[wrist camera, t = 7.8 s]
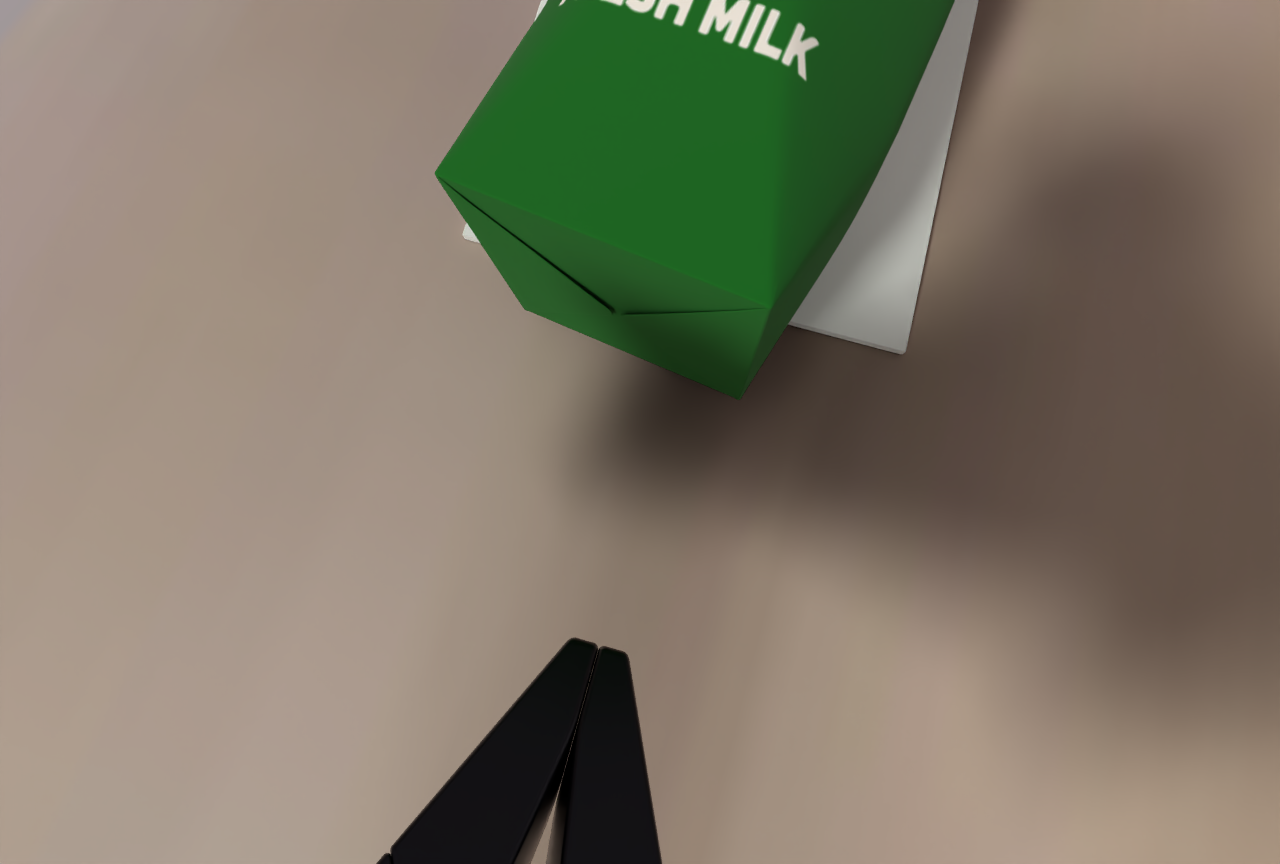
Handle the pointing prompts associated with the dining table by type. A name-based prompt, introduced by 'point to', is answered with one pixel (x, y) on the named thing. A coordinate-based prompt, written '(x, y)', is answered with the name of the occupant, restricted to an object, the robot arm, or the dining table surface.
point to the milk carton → (686, 164)
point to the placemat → (891, 212)
